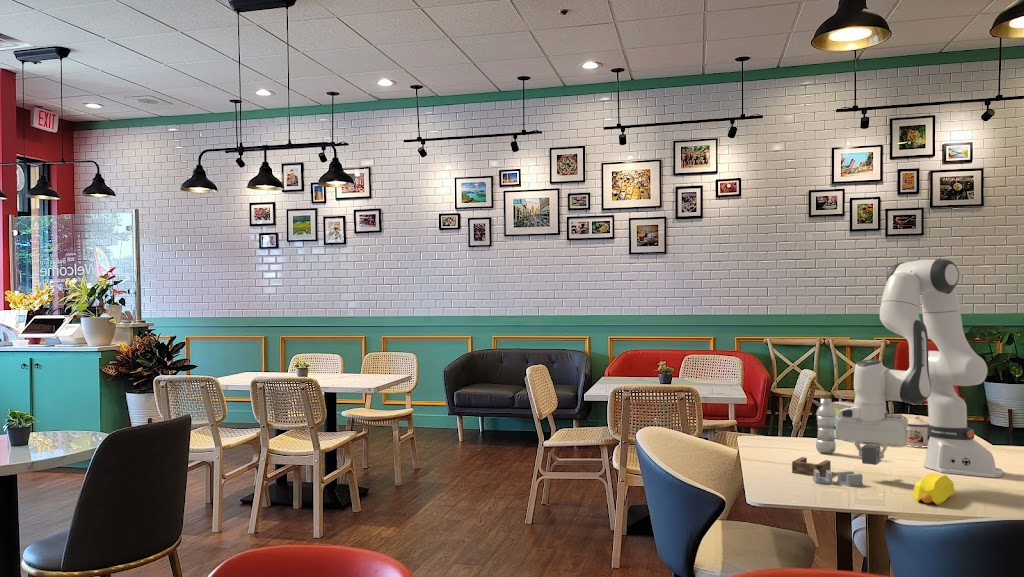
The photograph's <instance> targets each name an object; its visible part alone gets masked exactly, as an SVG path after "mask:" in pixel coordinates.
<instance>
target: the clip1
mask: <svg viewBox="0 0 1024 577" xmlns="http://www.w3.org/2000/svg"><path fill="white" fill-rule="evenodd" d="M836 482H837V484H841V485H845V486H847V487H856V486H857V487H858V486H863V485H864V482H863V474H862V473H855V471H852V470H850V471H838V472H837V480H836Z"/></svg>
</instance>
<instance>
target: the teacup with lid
mask: <svg viewBox="0 0 1024 577" xmlns="http://www.w3.org/2000/svg"><path fill="white" fill-rule="evenodd" d="M907 420H908V427H907V429H906V430H907V436H908V442H907V444H906V445H911V446H918V447H922V446H928V440H927V425H928V424H929V422H927V421H925V420H923V419H921V418H920V416H919V415H914V416H913V418H910V419H907ZM906 445H905V446H906Z"/></svg>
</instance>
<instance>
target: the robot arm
mask: <svg viewBox="0 0 1024 577" xmlns="http://www.w3.org/2000/svg"><path fill="white" fill-rule="evenodd" d="M959 280H960V272H959V268H958V266H957V265H956V264H955V262H953V261H952V260H950V259H945V258H938V259H930V258H929V259H919V260H913V261H912V260H911V261H907V262H898V263H895V264H893V265H891V267H890V268H889V269H888V271H887V273H886V284H885V287H884V290H883V292H882V297H881V302H880V307H879V321H880V322H881V323H882V325H883V327H885V328H886V329H887V330H888V331H890V332H892V333H894V334H896V335H899V336H901V337H903V338H904V339H906V340H907V343H908V356H909V357H908V362H909V364H908V365H909V367H908V369H907V370H900V369H891V368H888V367H886V366H884V365H883V362H882V360H879V359H872V358H870V359H863V360H859V361H857V362H856V363H855V366H854V372H853V390H854V392H855V397H854V401H853V403H854V406H851V407H848V408H844V409H841V410H840V411H839V416H840V418H839V419H838V420H837V422H836V430H835V436H836V438H835V439H837V440H840V441H846V440H848V441H847V442H850V441H855V443H854V447H855V448H856V449H857V451H858V456H859V457H862V446H861V444H862V443H861V442H865V443H867V444H878V445H879V444H880V448H881V449H882V450H881V452H878V458H881V459H884V458H885V452H886V450H887V449H888V447H889V445H890V446H891V445H892V446H900V447H901V446H902V447H904V446H906V444H907V442H908V436H907V430H906V429H907V427H908V420H909V419H908V418H907V417H906V416H903V414H894V413H887V402H886V401H887V400H889V401H895V402H903V403H906V404H911V405H915V406H916V405H920V404H922V403H923V402H925V401H927V413H928V414H927V415H928V423H929V424H928V425H927V440H928V447H927V448H926V455H925V458H924V462H923V467H925V468H927V469H930V470H935V471H937V472H940V473H944V474H952V475H965V476H974V477H975V476H976V477H985V478H1000V477H1002V476H1003V475H1004V470H1003V469H1002V468H999V467H996V462H995V458H994V455H993V454H992V452H991V451H990V450H988V449H987V448H986V447H984V446H983V445H982V444H981V443H979V442H978V441H976V440H975V430H974V429H972V428H970V427H968V419H967V418H968V412H967V411H968V410H967V409H968V408H967V407H968V406H967V404H966V402H965V400H964V399H962V398H961V397H960V396H959V394H958V393H956V390H955V387H954V386H960V387H970V386H971V387H972V386H977V385H981V384H982V383H983V382H984V381H985V380H986V378H987V376H988V366H987V363H986V362H985V360H984V358H982V356H980V355H978V354H977V353H976V352H975V351H974V350H973V348H972V347H971V345H970V344H969V341H968V340H967V337H966V336H965V332H964V328H963V322H962V320H963V319H962V316H961V315H962V314H961V305H960V299H959V296H958V292H957V288H956V287H957V284H958V283H959ZM920 305H921V308H922V310H921V311H922V312H921V313H922V320H923V322H922V321H921V318H920ZM929 340H931V341H932V342H933V343H934V345H935V346H936V347H937V349H938V350H929Z"/></svg>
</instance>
